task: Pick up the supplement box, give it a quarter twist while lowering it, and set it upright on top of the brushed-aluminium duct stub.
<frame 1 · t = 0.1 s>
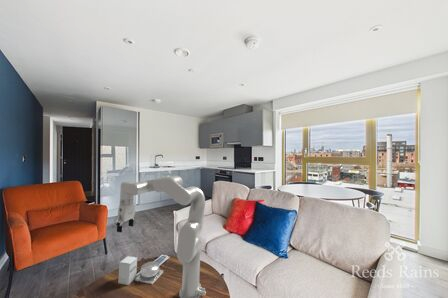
hand: (125, 228, 116), 31 cm above the table, fingers open, 9 cm apart
duct stub: (149, 276, 119), on the table
supplement box: (127, 280, 115), on the table
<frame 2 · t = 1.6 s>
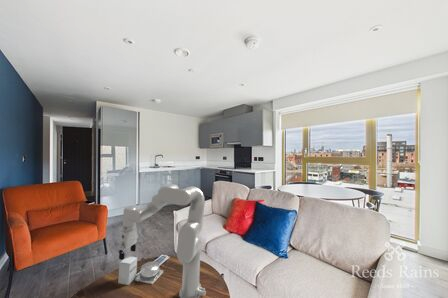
hand: (127, 255, 115), 15 cm above the table, fingers open, 9 cm apart
nothing on the table moved.
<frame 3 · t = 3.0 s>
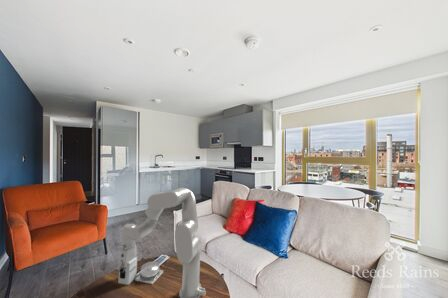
hand: (127, 273, 115), 4 cm above the table, fingers closed on supplement box, 7 cm apart
supplement box: (127, 280, 115), on the table, touching gripper
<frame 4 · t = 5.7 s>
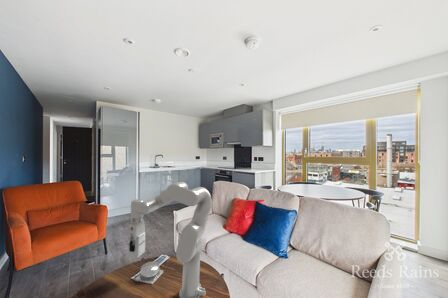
hand: (136, 247, 117), 19 cm above the table, fingers closed on supplement box, 7 cm apart
supplement box: (136, 254, 116), point 15 cm above the table, touching gripper
when the fingers open (11 cm above the table, at t = 8.2 s): supplement box stays where it is, resting on duct stub.
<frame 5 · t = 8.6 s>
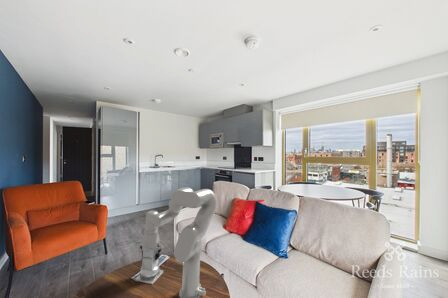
hand: (150, 257, 119), 12 cm above the table, fingers open, 9 cm apart
supplement box: (150, 267, 119), point 6 cm above the table, touching duct stub
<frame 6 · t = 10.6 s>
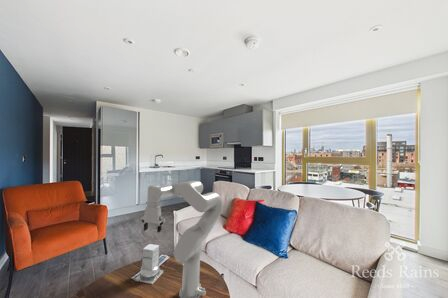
hand: (152, 230, 121), 29 cm above the table, fingers open, 9 cm apart
nothing on the table moved.
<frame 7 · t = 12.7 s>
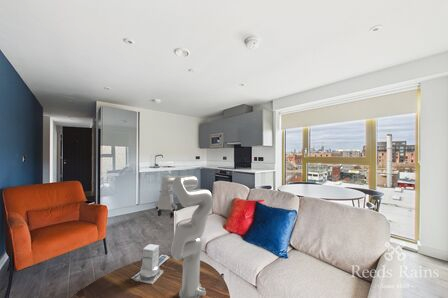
hand: (165, 216, 135), 33 cm above the table, fingers open, 9 cm apart
nothing on the table moved.
at the end: supplement box 0.4 cm off-centre on the duct stub, point 6.0 cm above the duct stub's base; supplement box tilted 0°; the gripper is holding nothing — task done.
